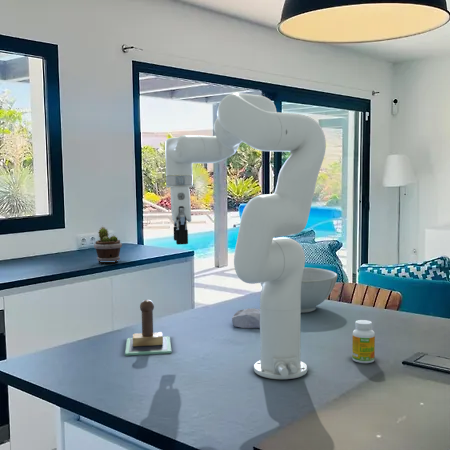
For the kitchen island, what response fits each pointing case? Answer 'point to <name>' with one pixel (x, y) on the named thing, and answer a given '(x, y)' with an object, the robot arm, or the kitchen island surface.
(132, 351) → the ink pad
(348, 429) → the kitchen island surface
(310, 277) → the decorative bowl
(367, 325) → the supplement bottle
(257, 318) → the stone block
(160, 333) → the stamp
